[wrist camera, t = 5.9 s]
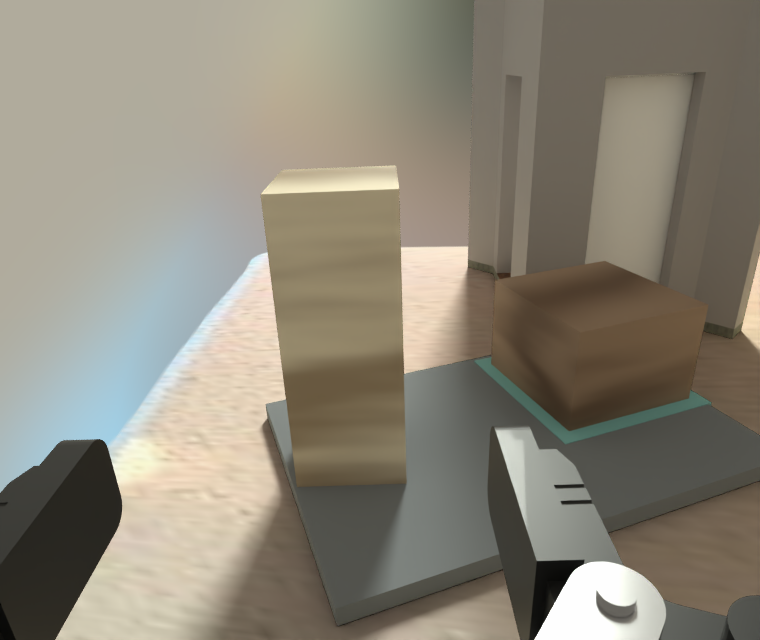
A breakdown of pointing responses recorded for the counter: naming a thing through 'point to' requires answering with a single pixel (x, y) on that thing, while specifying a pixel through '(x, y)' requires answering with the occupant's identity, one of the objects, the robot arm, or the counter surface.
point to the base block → (595, 341)
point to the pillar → (340, 321)
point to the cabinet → (619, 143)
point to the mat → (470, 480)
